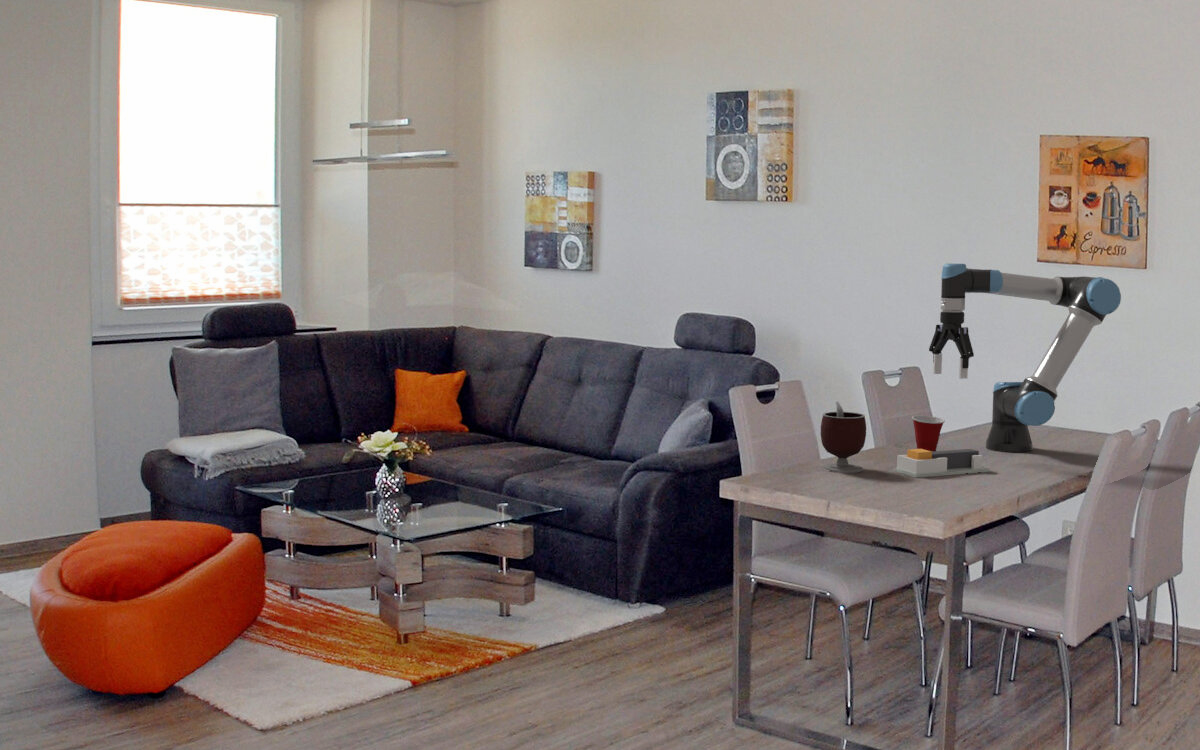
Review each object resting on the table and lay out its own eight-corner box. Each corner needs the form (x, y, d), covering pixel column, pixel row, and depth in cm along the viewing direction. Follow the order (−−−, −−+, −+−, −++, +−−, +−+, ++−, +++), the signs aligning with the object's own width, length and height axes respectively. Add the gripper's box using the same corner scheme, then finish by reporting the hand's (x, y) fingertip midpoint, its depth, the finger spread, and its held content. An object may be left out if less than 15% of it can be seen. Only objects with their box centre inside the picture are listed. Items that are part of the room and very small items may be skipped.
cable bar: (968, 464, 395) (969, 445, 394) (979, 467, 390) (980, 448, 389) (906, 468, 386) (907, 449, 386) (917, 472, 381) (918, 452, 381)
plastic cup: (932, 457, 412) (934, 421, 411) (904, 453, 420) (905, 417, 418) (950, 453, 420) (951, 417, 418) (921, 449, 427) (922, 414, 426)
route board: (967, 465, 398) (967, 449, 397) (989, 471, 388) (990, 455, 387) (895, 470, 388) (895, 455, 388) (916, 477, 378) (916, 461, 377)
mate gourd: (870, 473, 384) (872, 408, 382) (825, 473, 383) (827, 408, 381) (856, 463, 400) (858, 401, 398) (813, 464, 399) (815, 401, 397)
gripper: (919, 308, 418) (917, 372, 420) (967, 313, 395) (964, 380, 397) (938, 308, 421) (936, 371, 423) (986, 313, 397) (984, 379, 400)
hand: (950, 376), depth 410 cm, fingers open, 13 cm apart
